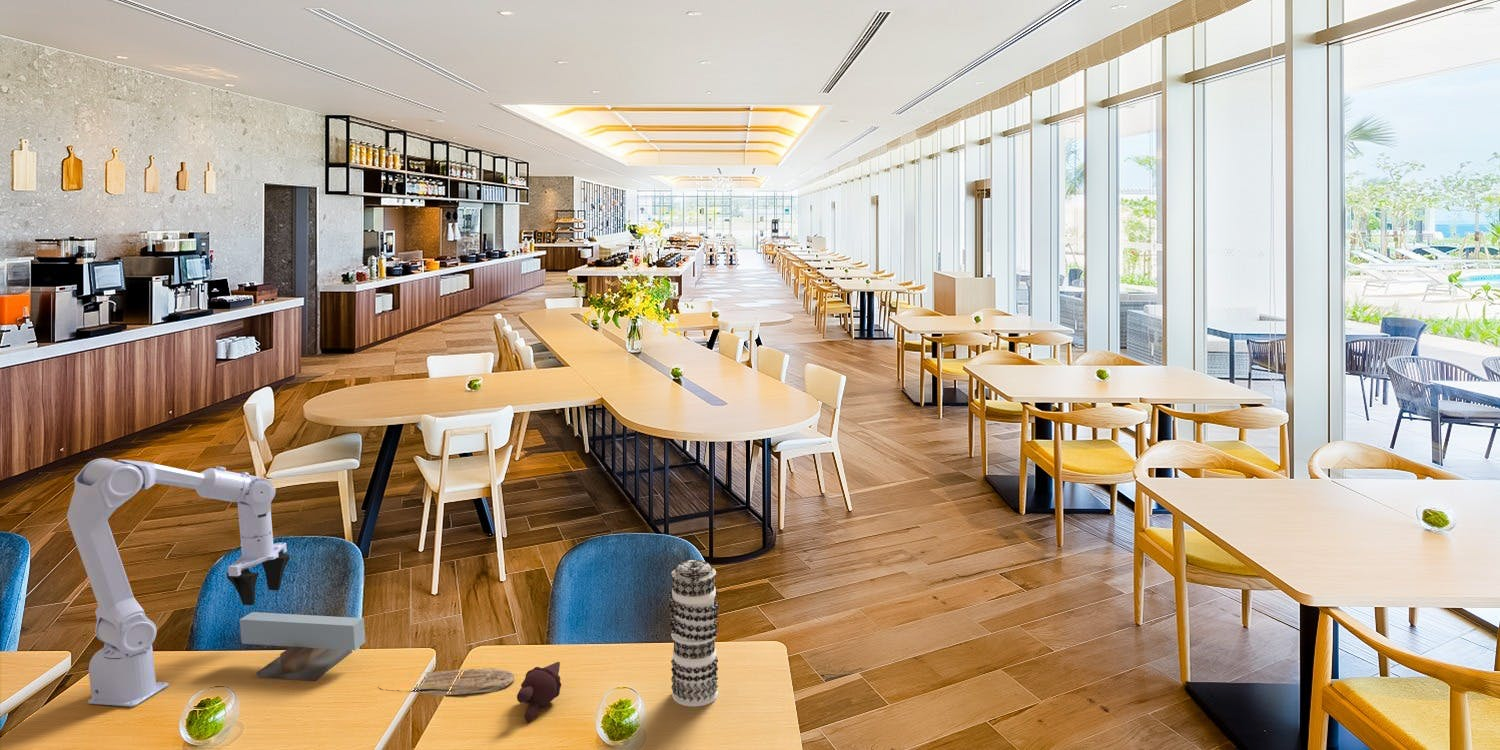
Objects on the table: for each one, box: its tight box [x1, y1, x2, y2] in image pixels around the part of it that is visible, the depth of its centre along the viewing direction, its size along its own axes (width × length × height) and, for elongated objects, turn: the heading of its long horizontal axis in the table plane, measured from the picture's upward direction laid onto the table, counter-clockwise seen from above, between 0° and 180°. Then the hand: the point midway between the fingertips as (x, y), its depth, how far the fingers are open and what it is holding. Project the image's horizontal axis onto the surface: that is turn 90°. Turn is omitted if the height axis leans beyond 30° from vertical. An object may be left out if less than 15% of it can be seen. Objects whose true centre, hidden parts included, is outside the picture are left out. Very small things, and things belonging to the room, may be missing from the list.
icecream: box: [516, 661, 562, 723], centre depth 151 cm, size 7×7×15 cm
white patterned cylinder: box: [667, 559, 720, 708], centre depth 152 cm, size 9×9×25 cm
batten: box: [239, 611, 366, 651], centre depth 164 cm, size 24×4×5 cm, turn 83°
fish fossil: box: [412, 668, 515, 697], centre depth 159 cm, size 26×10×1 cm, turn 96°
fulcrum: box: [256, 646, 353, 682], centre depth 165 cm, size 12×12×4 cm
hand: (261, 596), depth 173 cm, fingers open, 7 cm apart
